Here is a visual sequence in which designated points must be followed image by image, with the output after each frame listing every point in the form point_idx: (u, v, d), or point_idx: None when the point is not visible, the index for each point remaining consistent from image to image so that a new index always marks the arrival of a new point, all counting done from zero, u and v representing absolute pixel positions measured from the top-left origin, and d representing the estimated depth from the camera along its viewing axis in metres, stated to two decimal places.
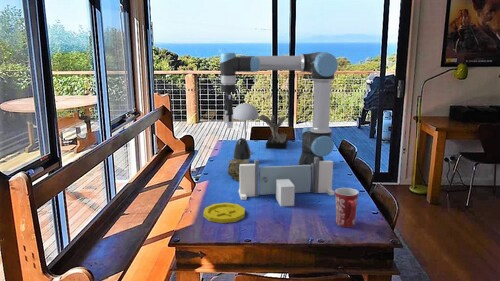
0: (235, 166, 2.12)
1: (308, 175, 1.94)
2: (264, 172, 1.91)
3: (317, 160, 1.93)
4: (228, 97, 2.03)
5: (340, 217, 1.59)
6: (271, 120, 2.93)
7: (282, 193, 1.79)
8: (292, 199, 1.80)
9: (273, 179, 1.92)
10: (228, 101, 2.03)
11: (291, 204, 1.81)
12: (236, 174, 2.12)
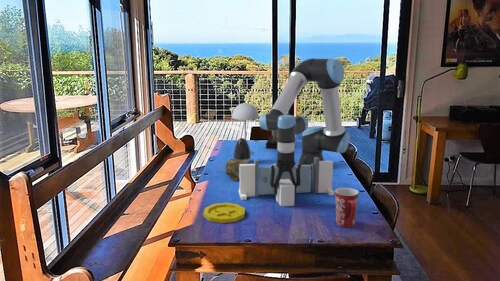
0: (232, 166, 2.12)
1: (308, 175, 1.94)
2: (264, 172, 1.91)
3: (317, 160, 1.93)
4: None
5: (340, 217, 1.59)
6: None
7: (282, 193, 1.79)
8: (292, 199, 1.80)
9: None
10: (271, 171, 1.82)
11: (291, 204, 1.81)
12: (233, 174, 2.12)
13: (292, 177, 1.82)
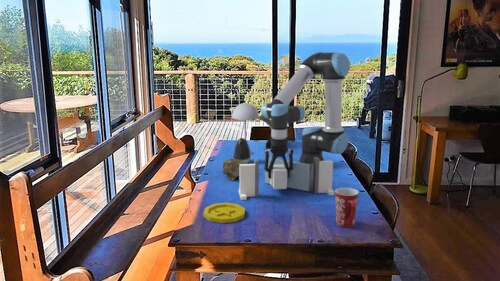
0: (229, 166, 2.12)
1: (307, 174, 1.96)
2: (268, 163, 2.06)
3: (317, 160, 1.93)
4: (265, 153, 1.95)
5: (340, 217, 1.59)
6: None
7: (275, 176, 1.92)
8: (285, 182, 1.93)
9: None
10: (265, 156, 1.95)
11: (284, 187, 1.94)
12: (229, 174, 2.13)
13: (285, 162, 1.96)
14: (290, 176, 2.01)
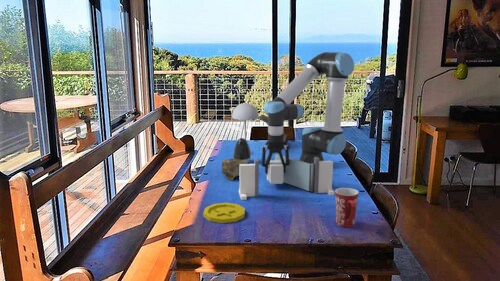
0: (227, 165, 2.13)
1: (307, 174, 1.97)
2: (277, 159, 2.12)
3: (317, 160, 1.93)
4: (262, 148, 2.02)
5: (340, 217, 1.59)
6: None
7: (271, 171, 1.99)
8: (281, 177, 2.00)
9: None
10: (262, 152, 2.02)
11: (280, 182, 2.01)
12: (228, 173, 2.13)
13: (281, 158, 2.02)
14: (294, 174, 2.04)
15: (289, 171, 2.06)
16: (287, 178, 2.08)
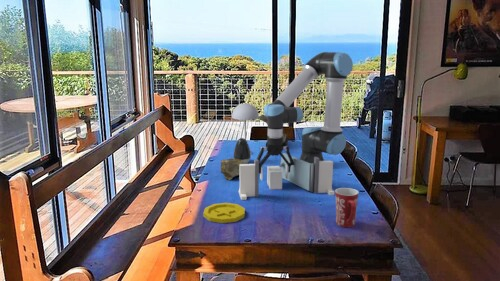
0: (226, 165, 2.13)
1: (308, 173, 1.97)
2: None
3: (317, 160, 1.93)
4: None
5: (340, 217, 1.59)
6: None
7: (271, 177, 2.00)
8: (280, 183, 2.01)
9: None
10: None
11: (279, 188, 2.02)
12: (226, 173, 2.13)
13: (284, 158, 2.03)
14: (297, 173, 2.05)
15: (293, 170, 2.08)
16: (291, 177, 2.10)
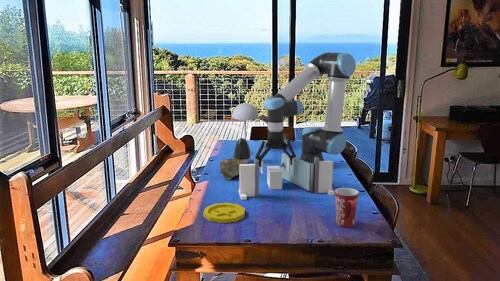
0: (225, 165, 2.13)
1: (308, 173, 1.97)
2: (283, 158, 2.14)
3: (317, 160, 1.93)
4: (261, 142, 2.01)
5: (340, 217, 1.59)
6: None
7: (271, 177, 2.00)
8: (280, 183, 2.01)
9: None
10: (260, 146, 2.02)
11: (279, 188, 2.02)
12: (226, 173, 2.13)
13: (285, 151, 2.03)
14: (297, 173, 2.05)
15: (293, 170, 2.08)
16: (291, 177, 2.10)
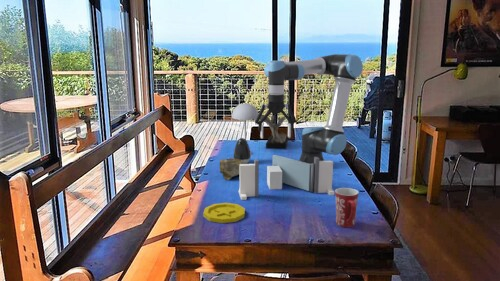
0: (224, 165, 2.13)
1: (307, 174, 1.97)
2: (275, 160, 2.11)
3: (317, 160, 1.93)
4: (261, 106, 1.97)
5: (340, 217, 1.59)
6: (271, 120, 2.93)
7: (271, 177, 2.00)
8: (280, 183, 2.01)
9: (281, 168, 2.09)
10: (260, 110, 1.98)
11: (279, 188, 2.02)
12: (225, 173, 2.14)
13: (286, 116, 1.98)
14: (293, 174, 2.03)
15: (288, 171, 2.06)
16: (286, 178, 2.07)
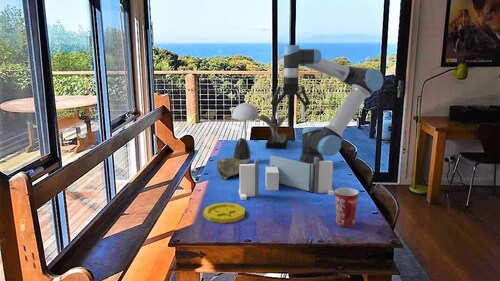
0: (221, 164, 2.14)
1: (307, 174, 1.96)
2: (273, 161, 2.09)
3: (317, 160, 1.93)
4: (277, 88, 2.09)
5: (340, 217, 1.59)
6: (271, 120, 2.93)
7: (267, 178, 1.99)
8: (277, 184, 2.00)
9: (279, 169, 2.08)
10: None
11: (276, 189, 2.00)
12: (222, 172, 2.15)
13: (300, 98, 2.10)
14: (292, 175, 2.03)
15: (286, 172, 2.05)
16: (284, 179, 2.06)
